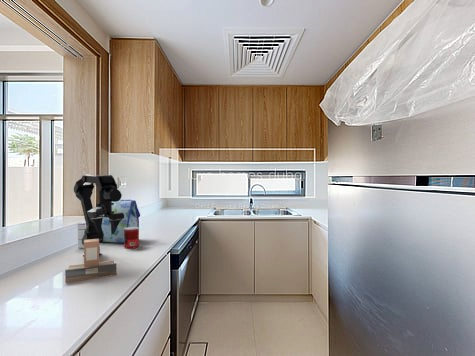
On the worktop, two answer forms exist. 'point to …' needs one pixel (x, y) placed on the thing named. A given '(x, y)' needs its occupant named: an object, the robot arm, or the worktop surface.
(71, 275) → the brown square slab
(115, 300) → the worktop surface
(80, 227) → the syrup box
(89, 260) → the carton
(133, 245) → the canned food
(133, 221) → the lunch bag
